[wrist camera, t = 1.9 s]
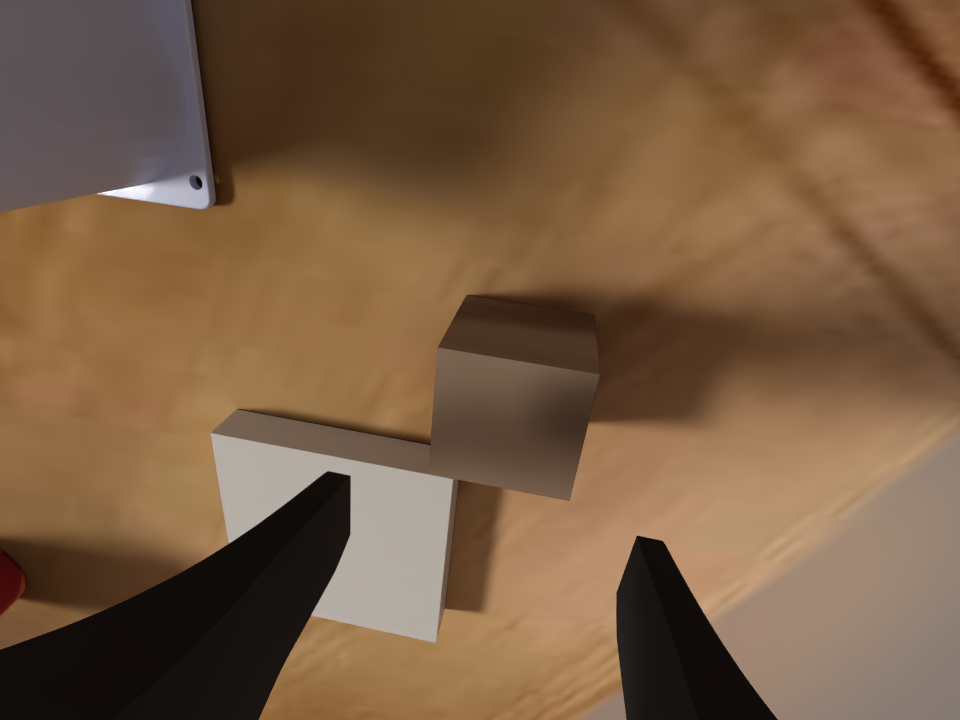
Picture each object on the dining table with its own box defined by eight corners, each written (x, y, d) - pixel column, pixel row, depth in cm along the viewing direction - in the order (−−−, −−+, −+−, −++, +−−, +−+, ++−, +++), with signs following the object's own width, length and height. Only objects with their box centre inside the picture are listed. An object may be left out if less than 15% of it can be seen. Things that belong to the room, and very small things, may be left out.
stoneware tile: (236, 409, 25) (210, 433, 23) (461, 451, 24) (453, 479, 22) (258, 569, 30) (238, 599, 28) (444, 609, 29) (436, 642, 27)
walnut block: (466, 294, 20) (437, 347, 16) (593, 314, 20) (600, 374, 16) (456, 401, 23) (428, 474, 18) (570, 421, 22) (569, 500, 18)
